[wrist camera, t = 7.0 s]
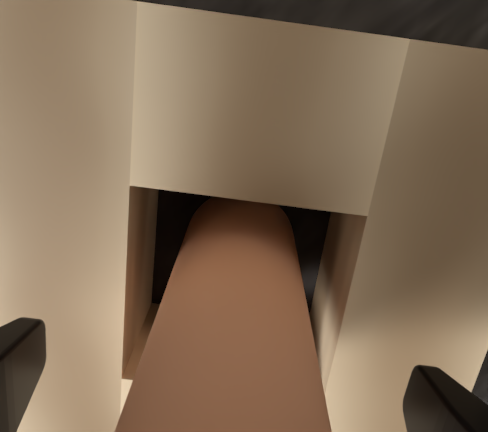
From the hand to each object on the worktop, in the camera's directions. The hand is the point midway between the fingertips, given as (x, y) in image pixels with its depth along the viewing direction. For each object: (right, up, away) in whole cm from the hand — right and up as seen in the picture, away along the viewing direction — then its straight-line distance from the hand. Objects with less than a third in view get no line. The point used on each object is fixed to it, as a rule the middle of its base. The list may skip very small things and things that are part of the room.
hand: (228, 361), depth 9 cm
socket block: (0, +2, +5) cm, 6 cm away
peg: (0, +2, +5) cm, 6 cm away
